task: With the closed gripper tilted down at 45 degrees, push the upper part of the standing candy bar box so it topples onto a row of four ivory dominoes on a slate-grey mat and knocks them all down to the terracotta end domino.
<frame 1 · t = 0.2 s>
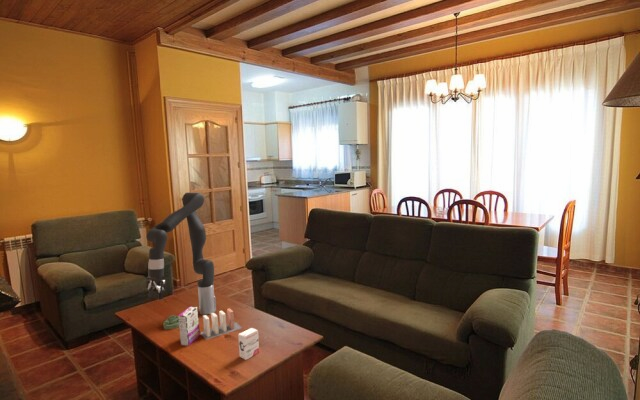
hand: (155, 297, 191), 23 cm above the table, tool pointing down, fingers open, 8 cm apart
domino 2: (215, 332, 199), resting on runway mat
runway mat: (221, 331, 201), on the table
domino 4: (231, 327, 204), resting on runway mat
ink box: (249, 355, 176), on the table
candy bar box: (190, 341, 191), on the table
decorative artifact: (173, 326, 209), on the table
domino 1: (207, 334, 196), resting on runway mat
domino 3: (223, 329, 202), resting on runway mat
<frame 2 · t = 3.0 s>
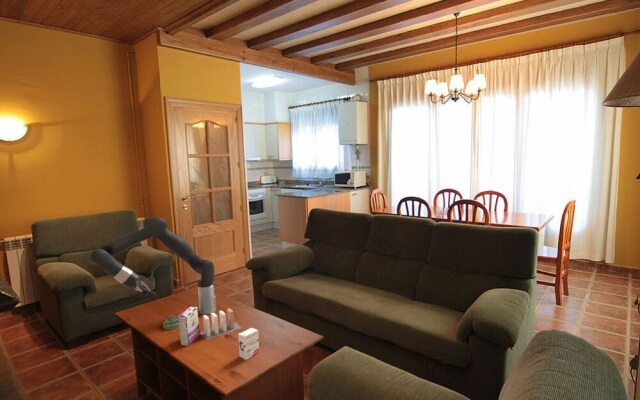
hand: (154, 296, 187), 25 cm above the table, tool tilted 45°, fingers closed
nothing on the table moved.
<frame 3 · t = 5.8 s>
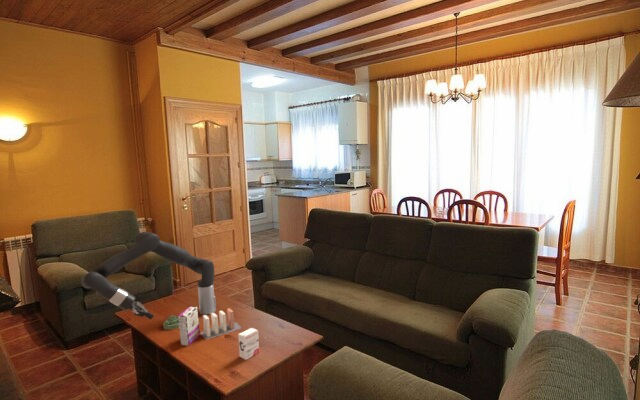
hand: (152, 317, 182), 17 cm above the table, tool tilted 45°, fingers closed
nothing on the table moved.
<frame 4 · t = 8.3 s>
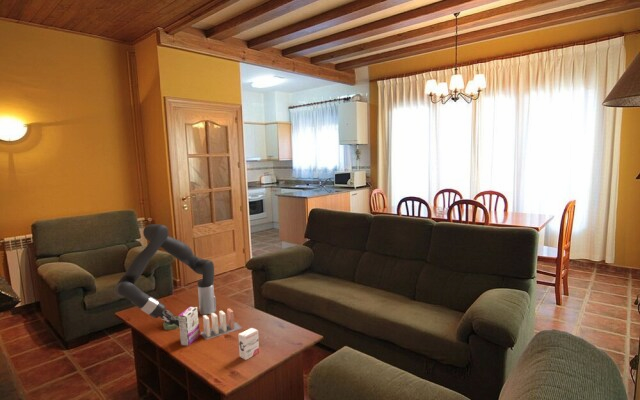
hand: (180, 324, 188), 10 cm above the table, tool tilted 45°, fingers closed
candy bar box: (190, 341, 191), on the table, touching gripper
everything else where it was.
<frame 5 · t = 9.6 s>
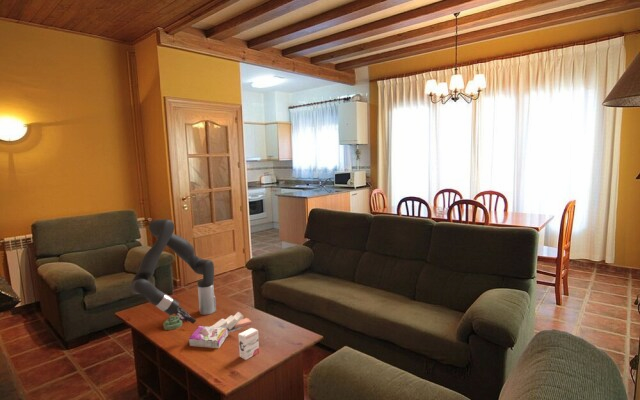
hand: (194, 321, 191), 10 cm above the table, tool tilted 45°, fingers closed
domino 2: (218, 329, 200), point 1 cm above the table, tilted 63°, touching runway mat
domino 4: (232, 324, 205), point 1 cm above the table, tilted 94°, touching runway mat
candy bar box: (193, 335, 190), point 3 cm above the table, touching domino 1
domino 1: (209, 332, 197), point 1 cm above the table, tilted 67°, touching candy bar box, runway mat
domino 3: (227, 327, 203), point 1 cm above the table, tilted 58°, touching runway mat
everything else where it was.
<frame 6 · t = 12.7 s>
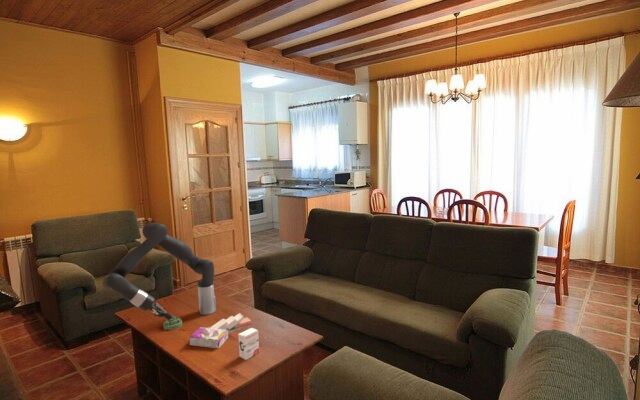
hand: (170, 317, 186), 14 cm above the table, tool tilted 45°, fingers closed
domino 2: (218, 329, 200), point 1 cm above the table, tilted 67°, touching domino 1, domino 3, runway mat
domino 4: (232, 325, 205), point 1 cm above the table, tilted 90°, touching domino 3, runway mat
candy bar box: (194, 335, 190), point 3 cm above the table, touching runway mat
domino 1: (209, 332, 197), point 1 cm above the table, tilted 69°, touching domino 2, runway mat
domino 3: (226, 326, 203), point 1 cm above the table, tilted 67°, touching domino 2, domino 4
everything else where it was.
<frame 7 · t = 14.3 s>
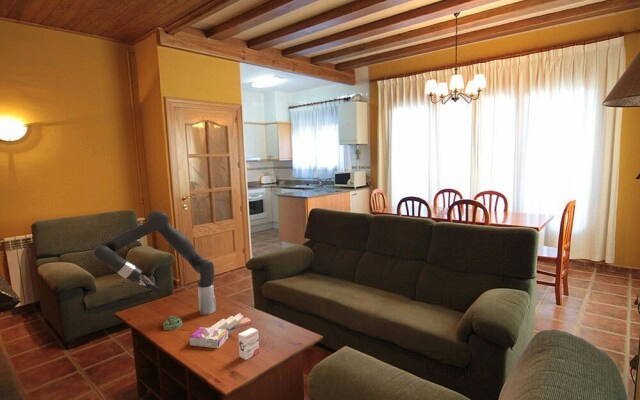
hand: (157, 290, 194), 26 cm above the table, tool tilted 45°, fingers closed
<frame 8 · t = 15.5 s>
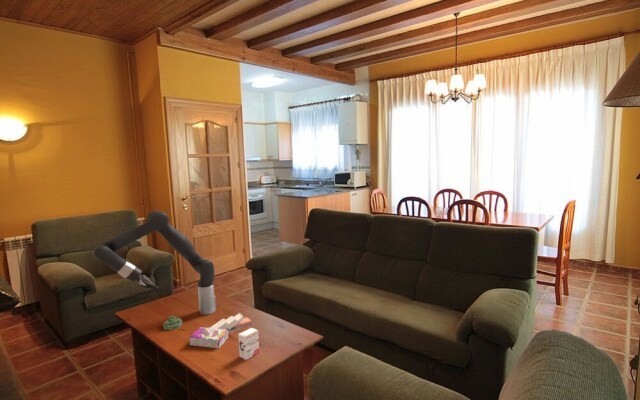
hand: (157, 289, 194), 26 cm above the table, tool tilted 45°, fingers closed
at the end: candy bar box tilted 92°; domino 2 tilted 67°; domino 4 tilted 90° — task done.
